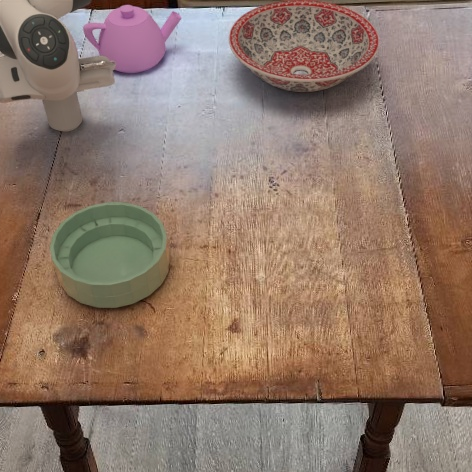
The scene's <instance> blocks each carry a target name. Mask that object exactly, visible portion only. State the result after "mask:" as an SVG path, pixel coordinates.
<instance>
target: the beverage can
mask: <svg viewBox="0 0 472 472" xmlns="http://www.w3.org/2000/svg"><path fill="white" fill-rule="evenodd" d="M42 104H43V108H44V112H45V115H46V120H47V123H48V125H49V126H50V128H51V129H54V130H56V131H59V132H67V133H68V132H71V131H74V130H76V129H78V127H79V126H80V125H81V124H82V122H83V114H82V109H81V105H80V104H81V103H80V100H79V96H78V92H77V91H75V92H74V93H73V94H72V95H71V96H69V97H68V98H66V99H63V100H59V101H52V100H47V99H44V100H42Z"/></svg>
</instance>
